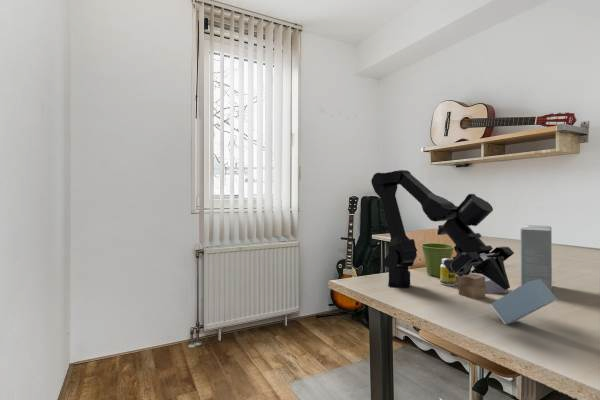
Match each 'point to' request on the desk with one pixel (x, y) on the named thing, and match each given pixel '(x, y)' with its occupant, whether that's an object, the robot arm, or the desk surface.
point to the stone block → (492, 286)
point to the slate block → (523, 301)
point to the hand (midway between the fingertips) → (507, 288)
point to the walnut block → (472, 286)
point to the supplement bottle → (446, 275)
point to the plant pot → (436, 256)
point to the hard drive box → (536, 254)
